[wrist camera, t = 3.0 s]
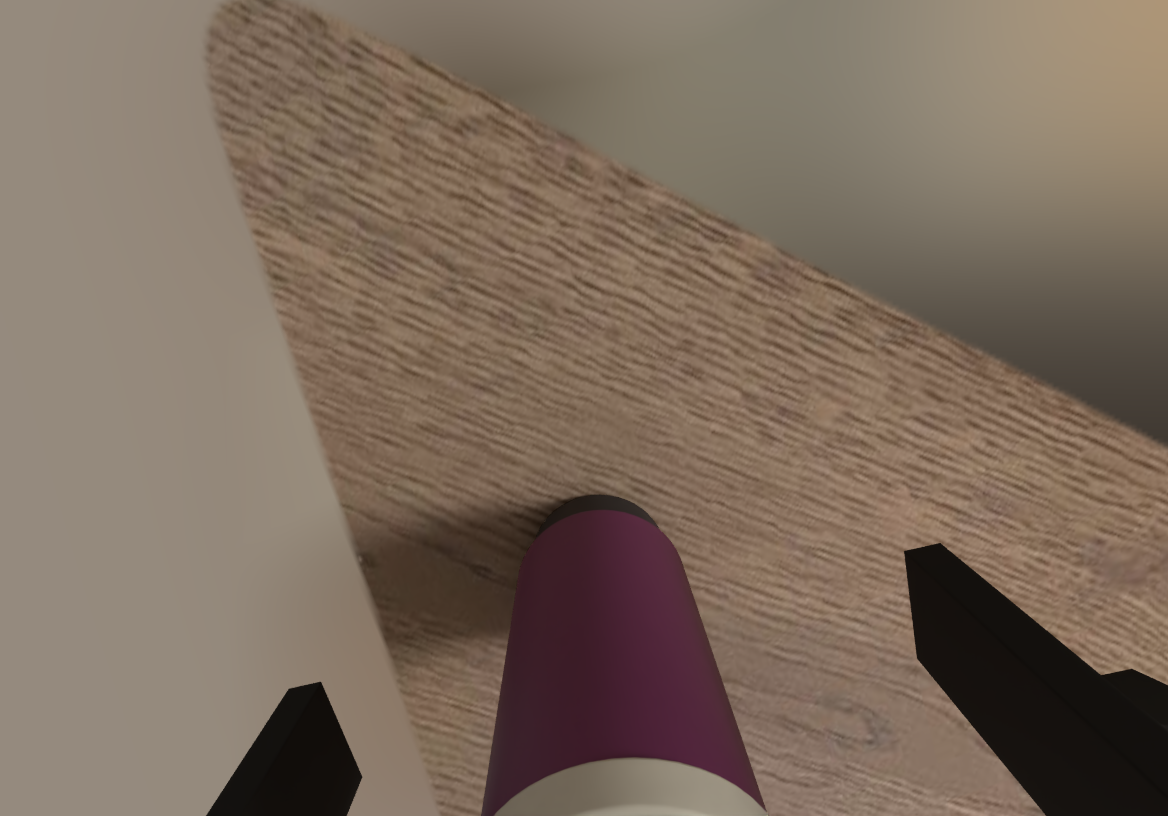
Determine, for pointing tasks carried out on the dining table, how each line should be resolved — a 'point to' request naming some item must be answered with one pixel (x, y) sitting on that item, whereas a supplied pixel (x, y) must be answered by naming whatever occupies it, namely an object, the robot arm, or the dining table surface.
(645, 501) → the dining table surface
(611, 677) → the cylinder
